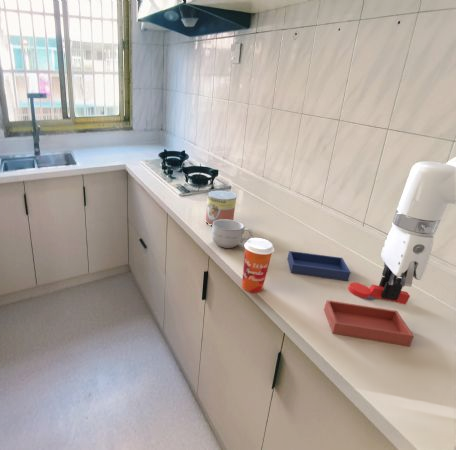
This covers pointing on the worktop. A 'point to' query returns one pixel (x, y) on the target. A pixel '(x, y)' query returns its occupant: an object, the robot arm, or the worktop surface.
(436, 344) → the worktop surface
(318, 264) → the blue tray
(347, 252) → the worktop surface
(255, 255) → the paper cup
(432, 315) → the worktop surface
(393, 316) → the red tray
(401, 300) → the red spoon
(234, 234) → the teacup
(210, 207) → the canned food
